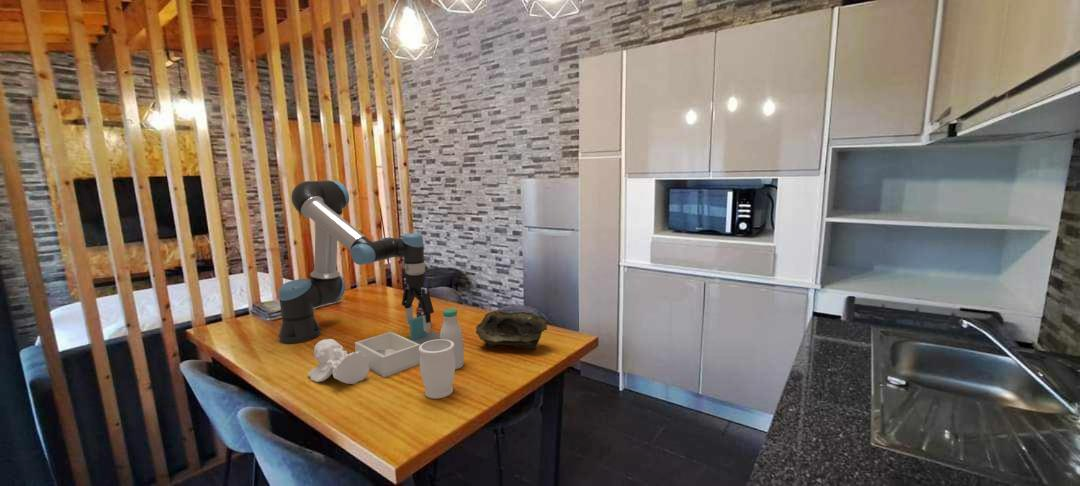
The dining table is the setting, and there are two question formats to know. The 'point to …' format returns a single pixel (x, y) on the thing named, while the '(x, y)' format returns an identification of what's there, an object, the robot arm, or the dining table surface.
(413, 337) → the lid
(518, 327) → the hollow geode rock
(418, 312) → the supplement bottle
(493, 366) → the dining table surface
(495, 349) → the dining table surface
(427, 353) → the jar
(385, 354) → the steel nut
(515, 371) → the dining table surface
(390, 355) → the tub
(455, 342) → the milk bottle
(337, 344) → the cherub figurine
